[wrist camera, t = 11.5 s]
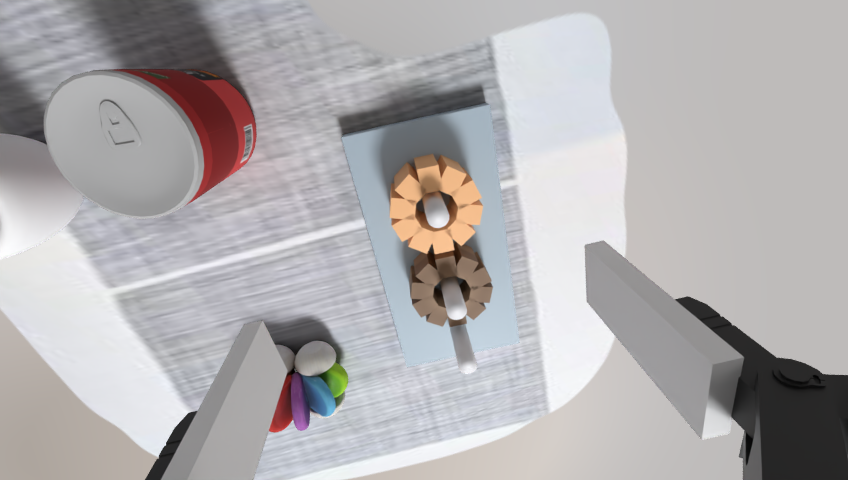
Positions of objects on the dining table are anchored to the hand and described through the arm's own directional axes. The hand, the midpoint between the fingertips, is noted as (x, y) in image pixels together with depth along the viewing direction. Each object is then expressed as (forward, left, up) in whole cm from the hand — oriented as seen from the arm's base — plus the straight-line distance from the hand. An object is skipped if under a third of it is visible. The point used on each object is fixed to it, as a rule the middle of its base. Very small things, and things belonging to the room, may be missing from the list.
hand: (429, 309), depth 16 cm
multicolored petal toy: (+18, -15, -20) cm, 31 cm away
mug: (-6, -30, -20) cm, 37 cm away
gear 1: (+1, +2, -18) cm, 19 cm away
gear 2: (+9, +2, -18) cm, 21 cm away
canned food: (-8, -14, -20) cm, 26 cm away
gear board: (+7, +2, -20) cm, 21 cm away
